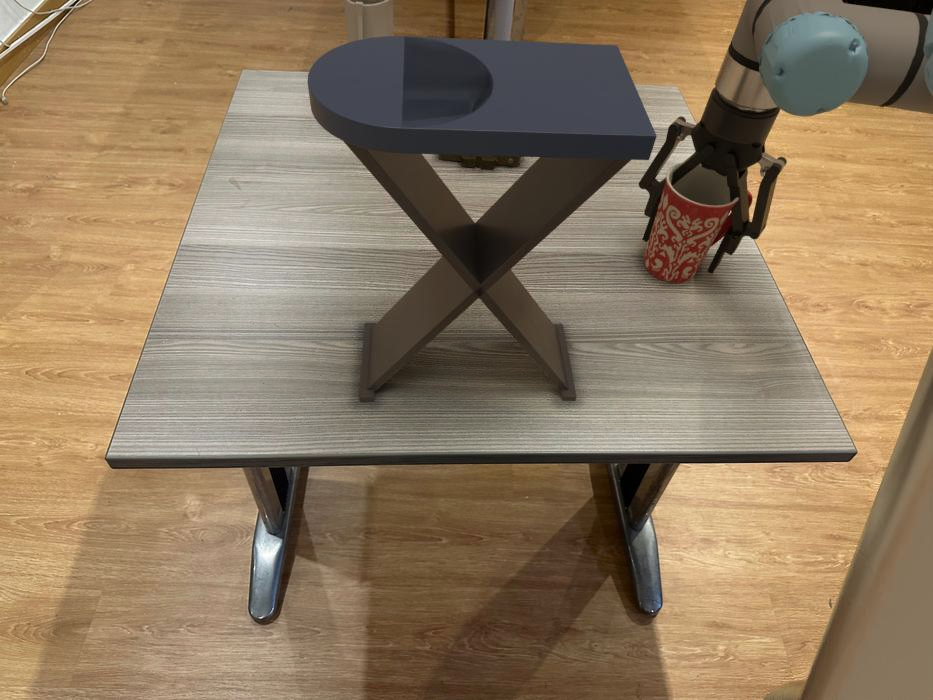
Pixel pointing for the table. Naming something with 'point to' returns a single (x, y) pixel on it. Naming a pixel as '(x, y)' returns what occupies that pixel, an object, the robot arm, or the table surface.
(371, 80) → the x-leg side table
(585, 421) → the table surface
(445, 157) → the landmine
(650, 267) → the mug
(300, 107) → the table surface
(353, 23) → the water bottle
